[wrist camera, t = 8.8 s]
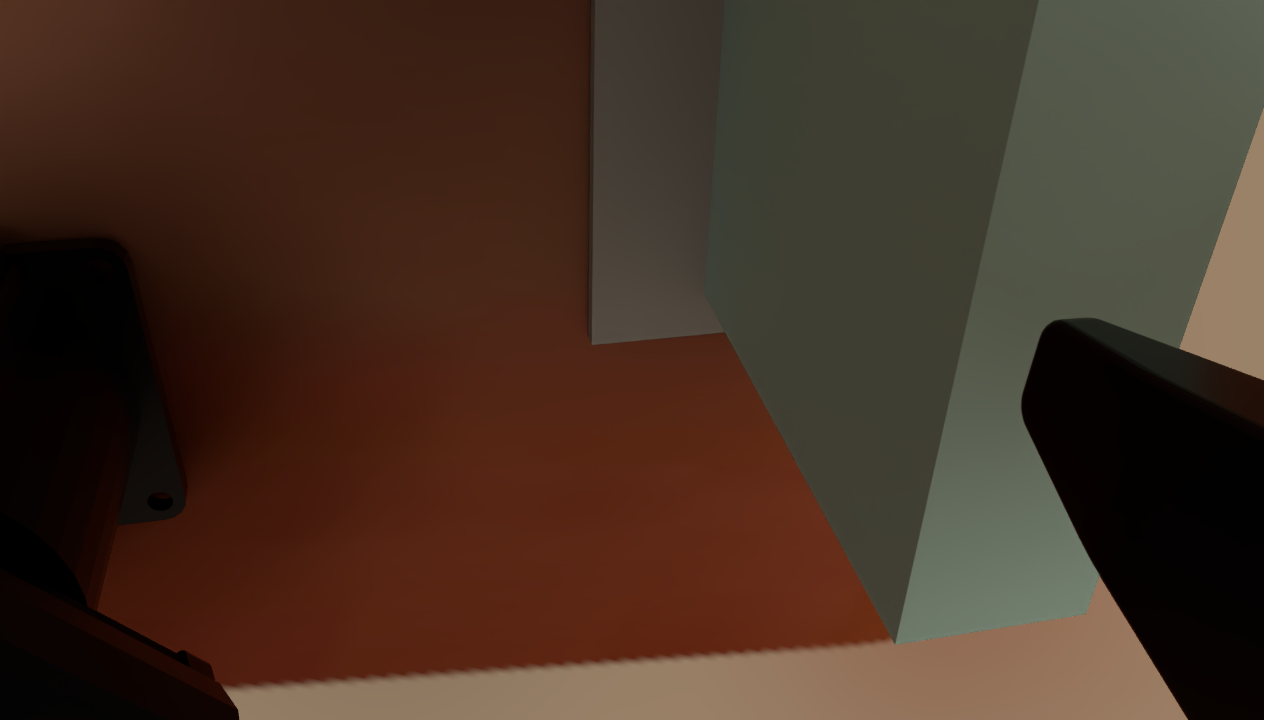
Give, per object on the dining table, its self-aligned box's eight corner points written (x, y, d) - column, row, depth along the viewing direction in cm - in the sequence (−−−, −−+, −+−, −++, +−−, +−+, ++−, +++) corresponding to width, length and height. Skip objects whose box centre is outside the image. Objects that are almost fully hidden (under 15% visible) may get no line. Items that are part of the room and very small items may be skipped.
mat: (928, 303, 26) (936, 312, 26) (588, 335, 24) (591, 345, 24) (1049, -298, 19) (1061, -296, 19) (592, -307, 18) (597, -306, 17)
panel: (836, 282, 24) (1085, 614, 16) (704, 294, 24) (894, 644, 16) (910, -232, 19) (1341, -117, 11) (741, -233, 18) (1064, -111, 10)
